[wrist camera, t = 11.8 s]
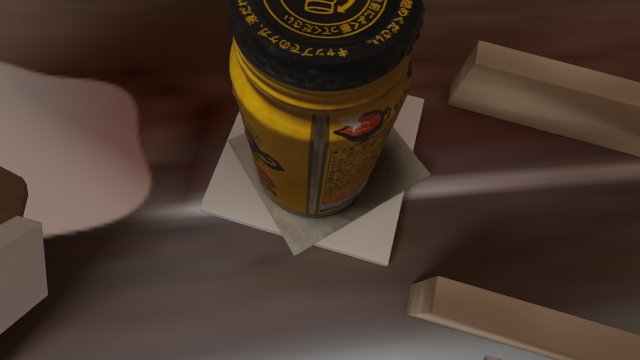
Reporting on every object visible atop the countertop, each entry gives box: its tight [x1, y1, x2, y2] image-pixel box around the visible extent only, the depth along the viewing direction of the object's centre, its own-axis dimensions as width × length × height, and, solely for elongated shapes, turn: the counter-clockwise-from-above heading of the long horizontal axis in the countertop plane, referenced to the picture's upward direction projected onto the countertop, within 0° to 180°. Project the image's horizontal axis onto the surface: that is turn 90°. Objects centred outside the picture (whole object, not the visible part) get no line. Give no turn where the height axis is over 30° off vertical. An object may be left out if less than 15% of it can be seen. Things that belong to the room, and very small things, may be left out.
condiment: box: [226, 0, 431, 256], centre depth 16 cm, size 7×8×12 cm
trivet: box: [199, 95, 424, 266], centre depth 22 cm, size 10×10×1 cm
